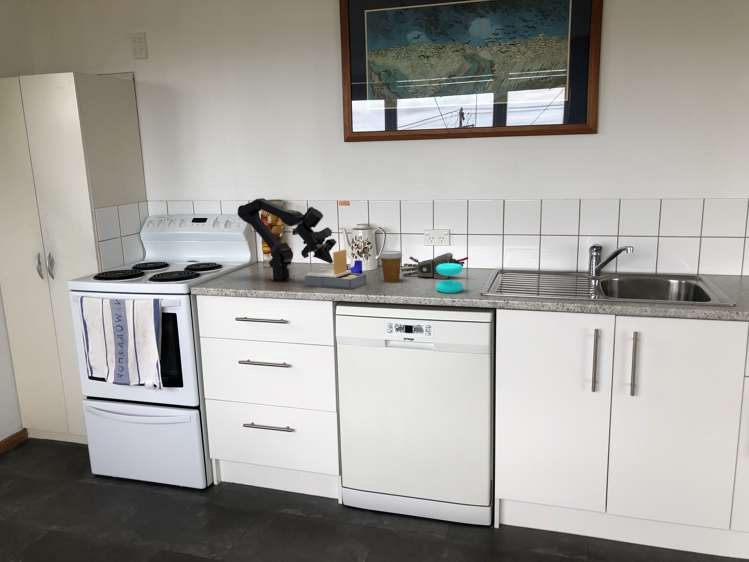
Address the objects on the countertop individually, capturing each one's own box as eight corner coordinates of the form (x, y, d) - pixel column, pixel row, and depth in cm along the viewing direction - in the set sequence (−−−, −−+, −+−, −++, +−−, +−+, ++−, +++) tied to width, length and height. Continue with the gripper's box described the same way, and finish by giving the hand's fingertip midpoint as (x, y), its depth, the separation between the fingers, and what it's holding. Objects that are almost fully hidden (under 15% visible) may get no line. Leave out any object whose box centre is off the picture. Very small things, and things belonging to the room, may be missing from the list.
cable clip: (354, 273, 268) (354, 259, 267) (362, 273, 266) (362, 260, 265) (337, 277, 259) (337, 264, 258) (346, 278, 256) (345, 264, 255)
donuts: (451, 268, 216) (430, 265, 224) (451, 294, 218) (430, 291, 226) (468, 264, 223) (447, 261, 230) (468, 290, 225) (447, 286, 232)
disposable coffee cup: (397, 277, 254) (397, 249, 251) (406, 281, 245) (406, 252, 242) (377, 279, 250) (376, 251, 248) (385, 283, 242) (384, 254, 239)
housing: (305, 285, 243) (304, 275, 242) (321, 280, 253) (321, 270, 252) (351, 289, 232) (350, 279, 232) (366, 283, 243) (365, 274, 242)
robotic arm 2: (396, 258, 252) (465, 253, 240) (402, 255, 259) (469, 250, 248) (399, 282, 254) (467, 278, 242) (405, 279, 261) (472, 274, 249)
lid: (306, 275, 242) (305, 251, 240) (323, 270, 252) (322, 247, 250) (335, 277, 235) (334, 253, 233) (351, 272, 245) (350, 249, 243)
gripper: (305, 224, 233) (330, 252, 230) (331, 219, 249) (355, 246, 246) (290, 243, 238) (314, 271, 235) (317, 237, 254) (340, 264, 251)
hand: (332, 262), depth 242 cm, fingers closed
